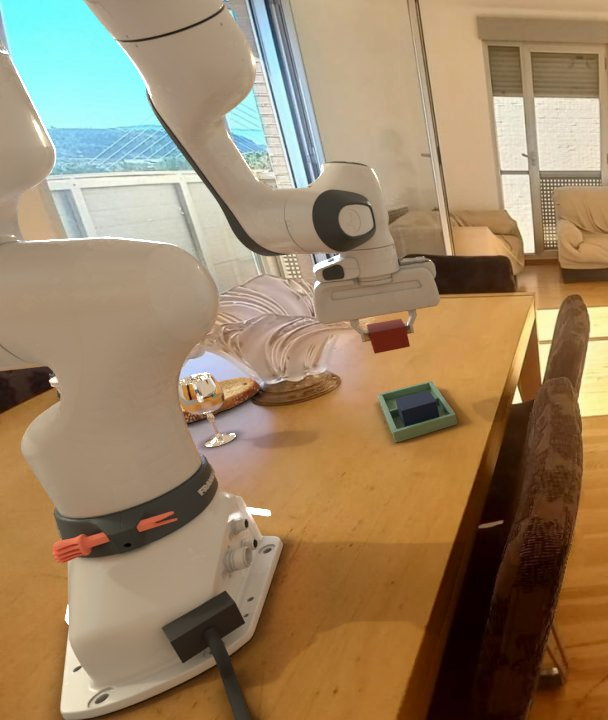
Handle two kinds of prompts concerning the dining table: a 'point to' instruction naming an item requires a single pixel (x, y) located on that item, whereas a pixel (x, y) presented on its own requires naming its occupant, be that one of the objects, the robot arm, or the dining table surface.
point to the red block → (388, 335)
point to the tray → (404, 433)
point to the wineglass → (204, 402)
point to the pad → (417, 408)
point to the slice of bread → (229, 396)
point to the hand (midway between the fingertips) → (388, 336)
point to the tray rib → (395, 412)
